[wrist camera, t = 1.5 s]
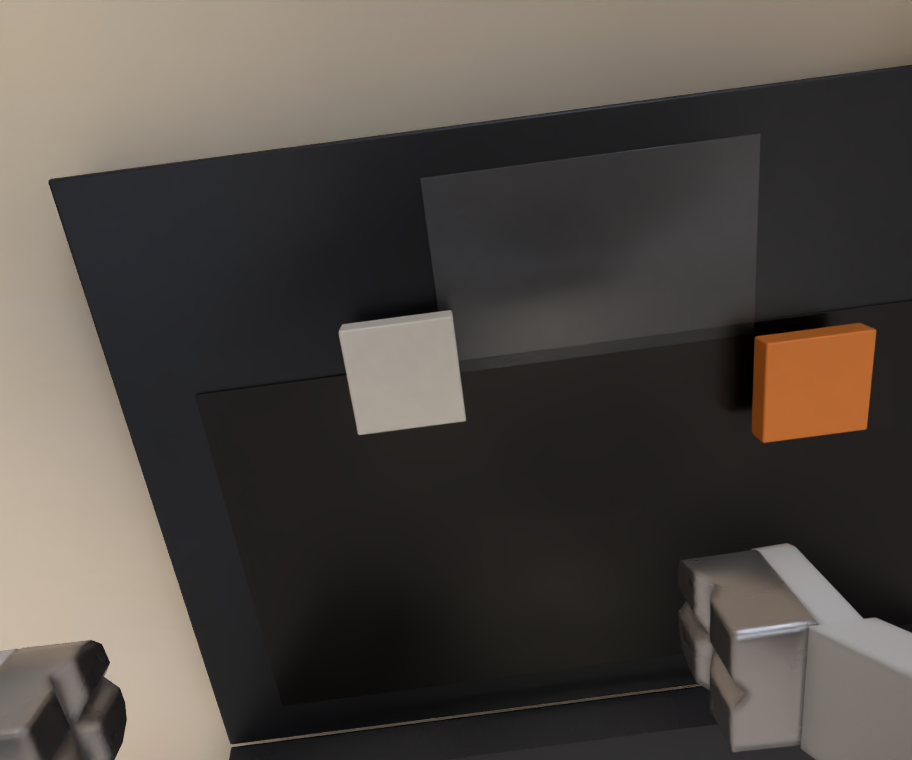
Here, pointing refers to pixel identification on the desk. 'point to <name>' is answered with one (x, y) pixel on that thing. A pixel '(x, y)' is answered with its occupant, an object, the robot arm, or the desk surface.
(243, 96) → the desk surface
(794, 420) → the orange block
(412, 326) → the white flat square block
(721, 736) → the laptop screen
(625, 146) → the laptop
